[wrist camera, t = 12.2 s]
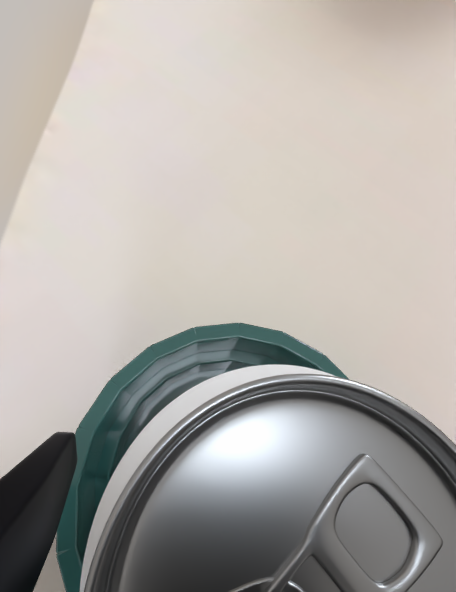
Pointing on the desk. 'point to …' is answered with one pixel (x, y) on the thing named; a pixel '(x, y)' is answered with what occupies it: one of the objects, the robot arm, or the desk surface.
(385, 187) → the desk surface
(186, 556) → the can
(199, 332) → the bowl
